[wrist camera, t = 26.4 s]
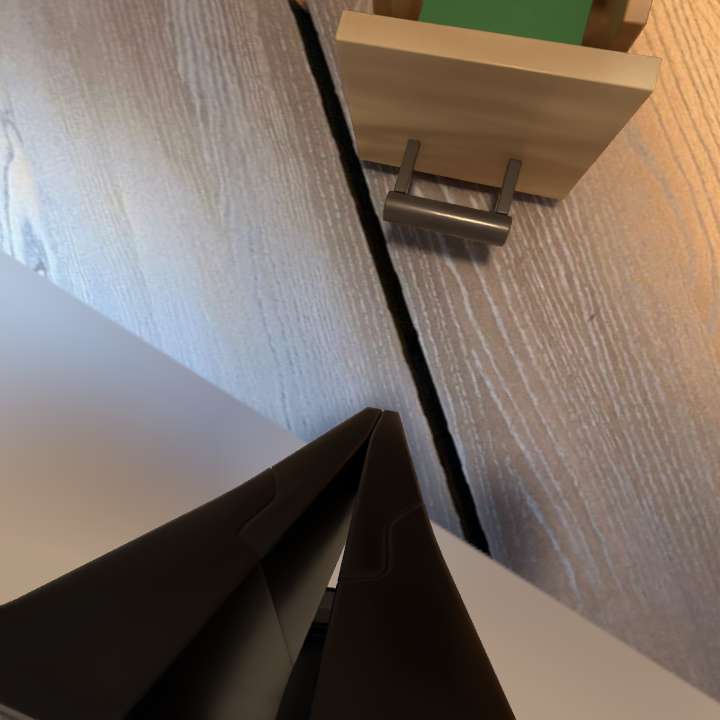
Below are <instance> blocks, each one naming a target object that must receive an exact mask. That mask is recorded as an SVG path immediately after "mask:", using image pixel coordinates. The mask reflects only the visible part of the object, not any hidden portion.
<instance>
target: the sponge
mask: <svg viewBox="0 0 720 720" xmlns="http://www.w3.org/2000/svg"><path fill="white" fill-rule="evenodd" d="M592 3H593V0H424V1H423V4H422V8H421V12H420V15H419V19H418V21H419V22H426V23H432V24H439V25H446V26H452V27H459V28H465V29H472V30H479V31H485V32H492V33H498V34H505V35H512V36H518V37H525V38H532V39H538V40H545V41H551V42H558V43H565V44H571V45H578V46H581V44H582V41H583V37H584V33H585V29H586V26H587V22H588V18H589V14H590V11H591V7H592Z"/></svg>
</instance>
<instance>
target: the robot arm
mask: <svg viewBox="0 0 720 720" xmlns="http://www.w3.org/2000/svg"><path fill="white" fill-rule="evenodd" d="M346 540H347V541H346ZM345 543H346V545H345ZM344 545H345V550H344V554H343V559H342V563H341V568H340V572H339V577H338V583H337V585H336V590H335V594H334V599H333V603H332V608H331V612H330V617H329V621H328V623H323V622H312V621H313V619H314V617H315V614H316V612H317V609H318V607H319V605H320V602H321V600H322V598H323V595H324V593H325V590H326V588H327V586H328V583H329V581H330V579H331V576H332V574H333V571H334V569H335V567H336V564H337V562H338V559H339V557H340V555H341V552H342V550H343V548H344ZM0 720H516V718H515V716H514V714H513V712H512V709H511V707H510V705H509V703H508V701H507V698H506V696H505V694H504V692H503V689H502V687H501V685H500V683H499V680H498V678H497V676H496V674H495V672H494V669H493V667H492V665H491V663H490V660H489V658H488V656H487V654H486V652H485V649H484V647H483V645H482V643H481V640H480V638H479V636H478V634H477V632H476V629H475V627H474V625H473V623H472V620H471V618H470V616H469V614H468V612H467V609H466V607H465V605H464V603H463V600H462V598H461V596H460V594H459V591H458V589H457V587H456V585H455V583H454V581H453V579H452V576H451V574H450V571H449V569H448V567H447V565H446V562H445V560H444V558H443V556H442V553H441V551H440V548H439V546H438V543H437V541H436V538H435V536H434V533H433V530H432V526H431V523H430V520H429V517H428V514H427V510H426V507H425V504H424V501H423V497H422V494H421V490H420V487H419V483H418V479H417V476H416V472H415V469H414V465H413V461H412V458H411V454H410V451H409V447H408V444H407V440H406V436H405V433H404V429H403V426H402V422H401V418H400V415H399V413H398V412H394V411H388V410H384V411H382V410H381V409H377V408H371V407H367V408H365V409H363V410H362V411H360V412H359V413H357V414H355V415H354V416H352V417H351V418H349V419H347V420H346V421H344V422H343V423H341V424H339V425H338V426H336V427H335V428H333V429H331V430H330V431H328V432H327V433H325V434H323V435H322V436H320V437H319V438H317V439H315V440H314V441H312V442H311V443H309V444H307V445H306V446H304V447H303V448H301V449H299V450H298V451H296V452H295V453H293V454H291V455H290V456H288V457H287V458H285V459H284V460H282V461H280V462H279V463H277V464H275V465H274V466H272V469H271V468H268V469H267V470H265V471H263V472H262V473H260V474H258V475H257V476H255V477H253V478H252V479H250V480H248V481H247V482H245V483H243V484H242V485H240V486H238V487H236V488H235V489H233V490H231V491H229V492H227V493H225V494H223V495H222V496H219V497H218V498H216V499H214V500H212V501H210V502H208V503H206V504H204V505H202V506H200V507H198V508H196V509H194V510H192V511H190V512H188V513H186V514H184V515H182V516H180V517H178V518H176V519H174V520H172V521H170V522H168V523H166V524H164V525H162V526H160V527H158V528H156V529H154V530H152V531H150V532H148V533H146V534H144V535H142V536H140V537H138V538H136V539H135V540H133V541H130V542H128V543H127V544H124V545H123V546H120V547H119V548H117V549H115V550H113V551H111V552H109V553H107V554H105V555H103V556H101V557H99V558H97V559H95V560H93V561H91V562H89V563H87V564H85V565H83V566H81V567H79V568H77V569H75V570H73V571H71V572H69V573H67V574H65V575H63V576H61V577H59V578H57V579H55V580H53V581H51V582H49V583H47V584H45V585H43V586H41V587H40V588H37V589H35V590H33V591H31V592H29V593H27V594H26V595H23V596H21V597H19V598H17V599H15V600H13V601H11V602H8V603H6V604H4V605H0Z"/></svg>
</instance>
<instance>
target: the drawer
mask: <svg viewBox="0 0 720 720" xmlns="http://www.w3.org/2000/svg"><path fill="white" fill-rule="evenodd" d="M423 1H424V0H373V10H374V15H373V14H366V13H359V12H353V11H346V10H343V13H342V16H341V19H340V23H339V26H338V30H337V33H336V37H335V42H336V47H337V52H338V57H339V62H340V66H341V71H342V76H343V81H344V86H345V91H346V96H347V100H348V105H349V110H350V115H351V120H352V125H353V130H354V135H355V139H356V144H357V149H358V154H359V159H362V160H366V161H371V162H376V163H381V164H386V165H391V166H396V167H400V171H399V175H398V178H397V182H396V185H395V189H394V192H393V191H389V193H388V195H387V197H386V201H385V205H384V210H383V220H385V221H389V222H393V223H398V224H402V225H407V226H411V227H416V228H420V229H425V230H429V231H434V232H438V233H443V234H447V235H452V236H456V237H461V238H465V239H469V240H474V241H478V242H483V243H487V244H492V245H496V246H503V245H504V243H505V241H506V239H507V237H508V234H509V231H510V228H511V224H512V217H511V216H507V215H508V213H509V210H510V206H511V202H512V199H513V195H514V191H519V192H524V193H528V194H533V195H538V196H543V197H548V198H553V199H558V200H563V199H564V198H565V196H566V195H567V194H568V193H569V192H570V190H571V189H572V188H573V187H574V186H575V184H576V183H577V182H578V181H579V180H580V179H581V177H582V176H583V175H584V174H585V173H586V171H587V170H588V169H589V168H590V167H591V165H592V164H593V163H594V162H595V161H596V159H597V158H598V157H599V156H600V155H601V153H602V152H603V151H604V150H605V149H606V147H607V146H608V145H609V144H610V143H611V141H612V140H613V139H614V138H615V137H616V135H617V134H618V133H619V132H620V131H621V129H622V128H623V127H624V126H625V125H626V123H627V122H628V121H629V120H630V119H631V117H632V116H633V115H634V114H635V113H636V111H637V110H638V109H639V108H640V107H641V105H642V104H643V103H644V102H645V101H646V99H647V98H648V97H649V96H650V95H651V93H652V92H653V91H654V89H655V85H656V81H657V77H658V73H659V69H660V66H661V62H662V58H657V57H651V56H644V55H637V54H631V53H627V52H628V51H629V49H630V48H631V46H632V45H633V43H634V42H635V40H636V39H637V37H638V36H639V34H640V33H641V31H642V30H643V28H644V27H645V25H646V23H647V19H648V16H649V12H650V8H651V4H652V0H593V3H592V7H591V11H590V14H589V18H588V22H587V26H586V29H585V33H584V37H583V41H582V44H581V46H578V45H571V44H565V43H558V42H551V41H545V40H538V39H532V38H525V37H518V36H512V35H505V34H498V33H492V32H485V31H479V30H472V29H465V28H459V27H452V26H446V25H439V24H432V23H426V22H419V21H418V19H419V15H420V12H421V8H422V4H423ZM413 170H416V171H420V172H425V173H430V174H435V175H440V176H445V177H450V178H455V179H460V180H465V181H470V182H474V183H479V184H484V185H489V186H494V187H499V188H501V190H500V194H499V197H498V201H497V205H496V208H495V212H494V213H492V212H487V211H483V210H478V209H473V208H469V207H464V206H459V205H455V204H450V203H445V202H440V201H436V200H431V199H426V198H422V197H417V196H412V195H408V194H407V192H408V188H409V185H410V181H411V178H412V174H413Z"/></svg>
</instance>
